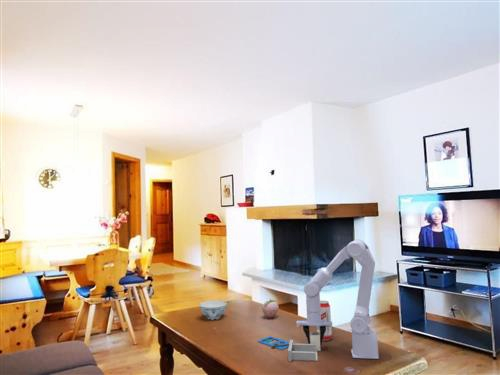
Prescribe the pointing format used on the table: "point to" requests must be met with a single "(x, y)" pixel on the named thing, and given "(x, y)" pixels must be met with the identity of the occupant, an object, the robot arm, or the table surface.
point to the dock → (302, 352)
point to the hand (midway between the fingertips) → (315, 344)
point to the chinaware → (213, 309)
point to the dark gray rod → (280, 345)
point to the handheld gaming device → (274, 342)
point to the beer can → (325, 319)
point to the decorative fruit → (270, 308)
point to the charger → (315, 339)
